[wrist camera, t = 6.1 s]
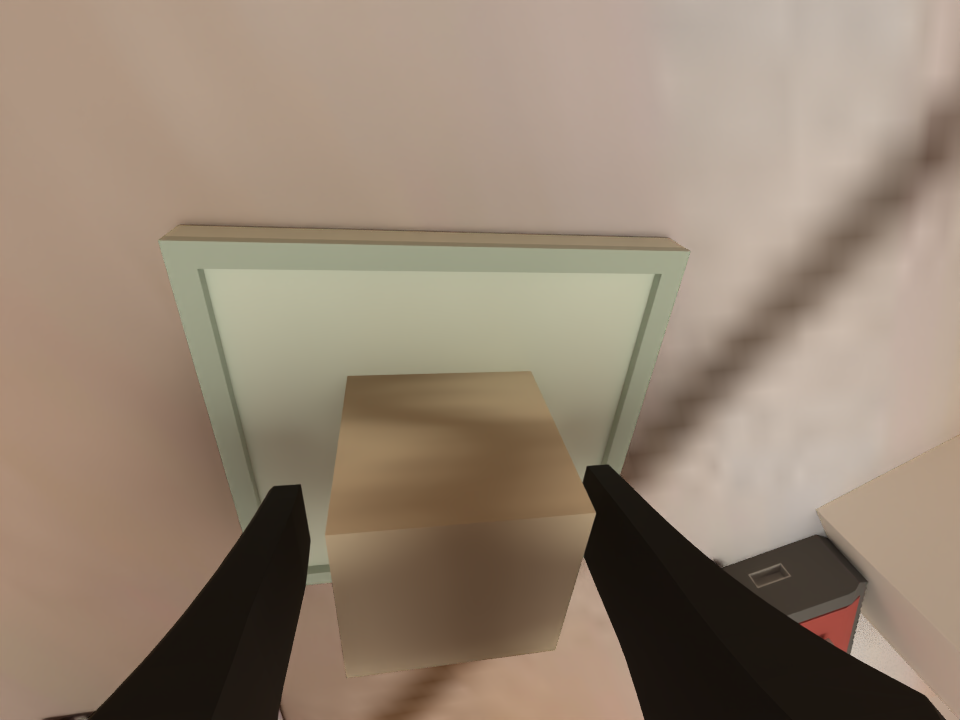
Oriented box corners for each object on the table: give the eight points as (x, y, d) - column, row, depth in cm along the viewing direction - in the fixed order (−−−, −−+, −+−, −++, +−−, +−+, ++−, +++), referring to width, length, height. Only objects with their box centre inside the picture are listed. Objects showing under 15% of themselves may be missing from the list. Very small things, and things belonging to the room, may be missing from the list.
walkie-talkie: (646, 572, 22) (684, 719, 33) (698, 675, 18) (721, 802, 29) (827, 507, 21) (804, 678, 32) (919, 598, 18) (857, 756, 29)
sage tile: (266, 560, 17) (259, 589, 16) (178, 225, 10) (158, 240, 10) (583, 532, 19) (593, 556, 18) (668, 237, 13) (690, 251, 12)
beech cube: (359, 506, 15) (346, 678, 11) (347, 375, 12) (324, 535, 8) (511, 495, 16) (555, 650, 12) (530, 371, 13) (596, 513, 9)
